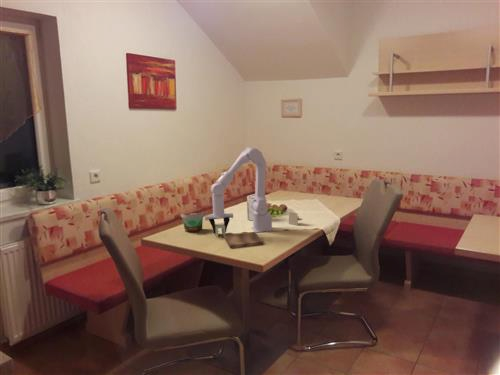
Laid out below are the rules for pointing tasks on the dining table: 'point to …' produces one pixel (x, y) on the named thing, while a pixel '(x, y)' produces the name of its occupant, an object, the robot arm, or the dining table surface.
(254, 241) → the serving board
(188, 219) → the food container
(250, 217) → the syrup box
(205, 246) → the dining table surface
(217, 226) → the pale slotted block
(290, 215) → the architectural model
